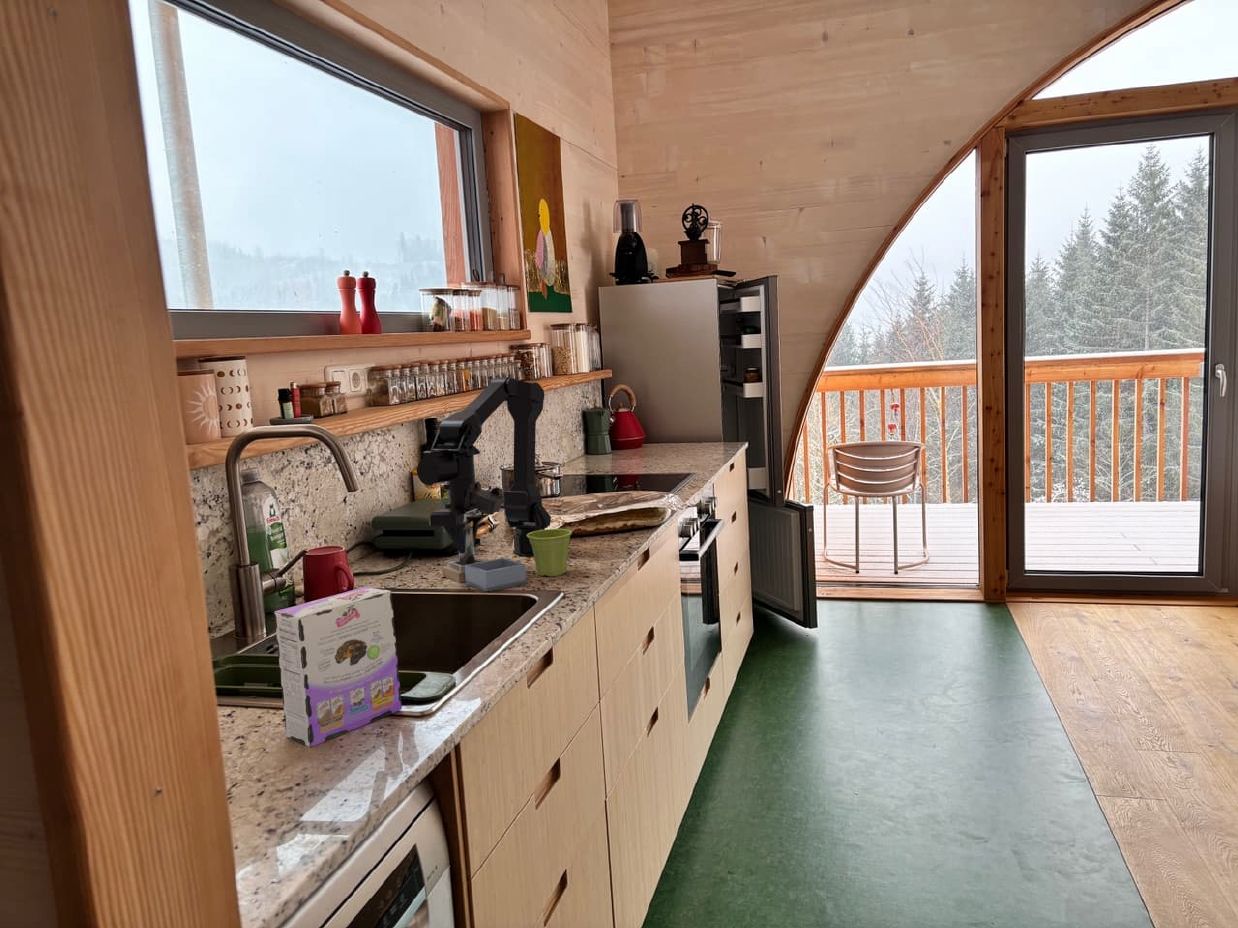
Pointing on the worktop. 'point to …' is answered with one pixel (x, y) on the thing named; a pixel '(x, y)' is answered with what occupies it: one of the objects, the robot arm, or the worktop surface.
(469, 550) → the glass spice jar
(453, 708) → the worktop surface
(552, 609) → the worktop surface
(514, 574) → the bin
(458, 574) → the beige shallow open box
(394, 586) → the worktop surface
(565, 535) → the plant pot
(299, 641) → the candy box
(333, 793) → the worktop surface
